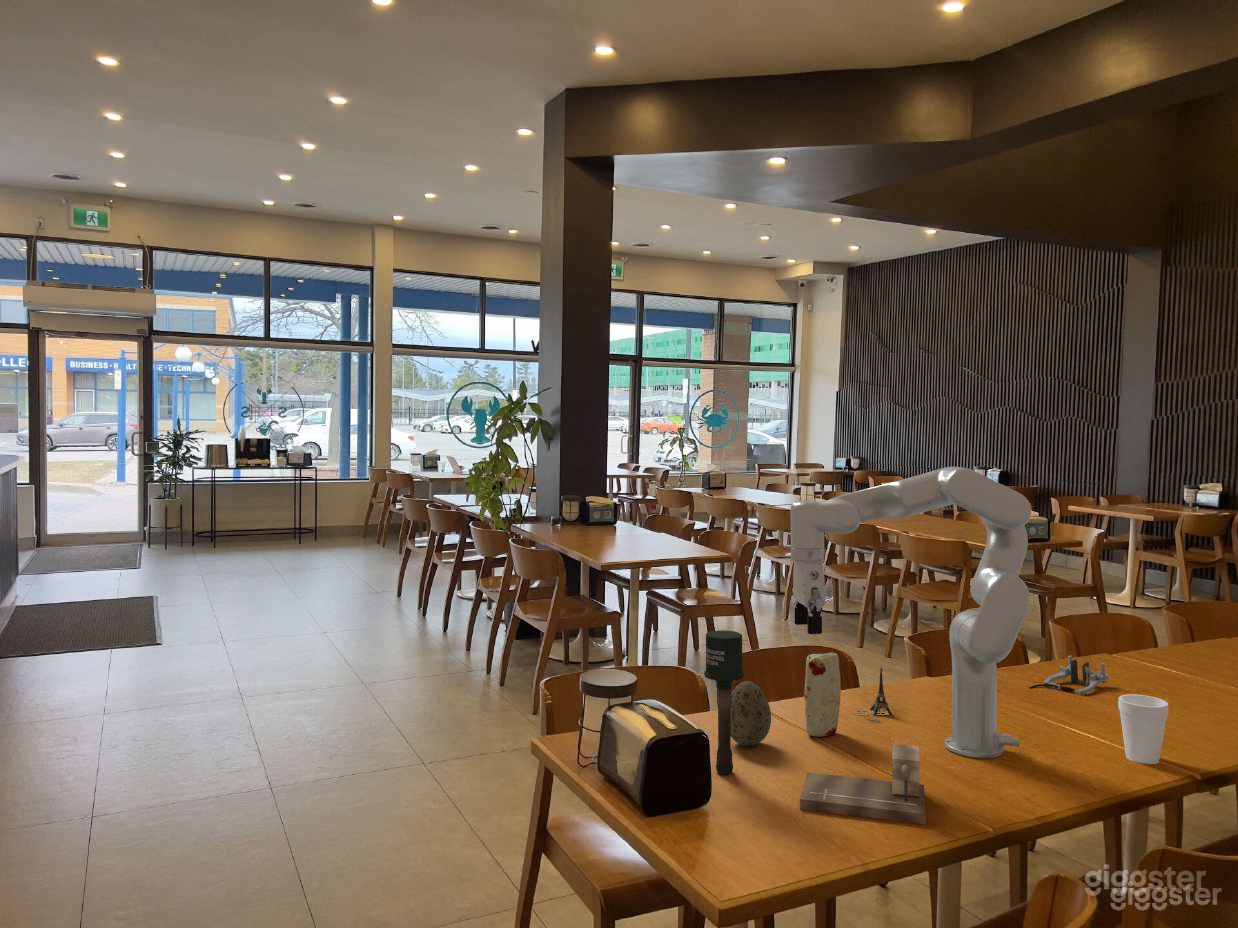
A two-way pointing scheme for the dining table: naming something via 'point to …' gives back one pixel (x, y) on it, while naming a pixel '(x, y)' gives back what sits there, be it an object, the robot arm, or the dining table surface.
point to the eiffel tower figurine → (879, 701)
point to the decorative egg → (749, 714)
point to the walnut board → (860, 798)
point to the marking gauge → (905, 770)
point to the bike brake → (1072, 670)
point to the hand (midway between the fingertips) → (808, 628)
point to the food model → (822, 694)
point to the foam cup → (1143, 726)
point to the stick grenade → (724, 686)
